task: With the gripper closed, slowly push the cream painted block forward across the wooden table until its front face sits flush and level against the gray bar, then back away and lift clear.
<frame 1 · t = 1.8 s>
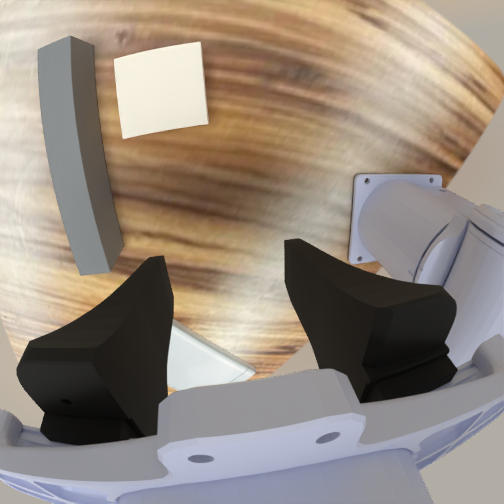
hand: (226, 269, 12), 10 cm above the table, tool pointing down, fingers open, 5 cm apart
cream block: (169, 92, 17), on the table
hard drive: (186, 356, 29), on the table
gray bar: (88, 150, 18), on the table
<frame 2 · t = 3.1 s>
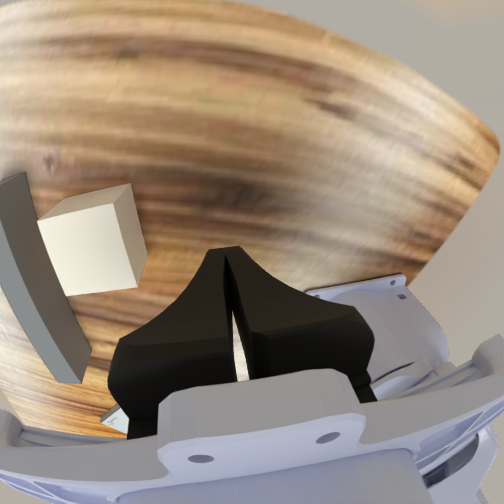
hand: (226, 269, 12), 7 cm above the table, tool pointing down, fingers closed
cream block: (105, 225, 18), on the table
hard drive: (160, 420, 30), on the table
gray bar: (44, 275, 18), on the table
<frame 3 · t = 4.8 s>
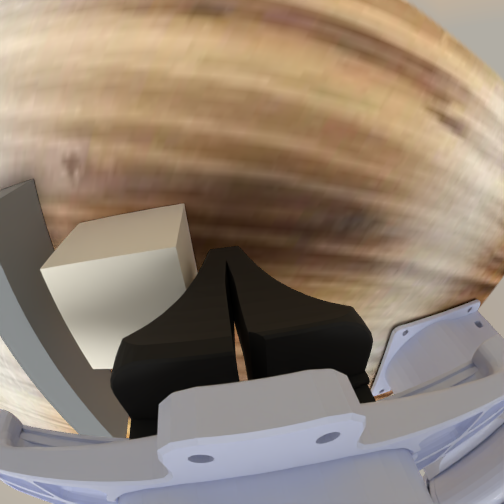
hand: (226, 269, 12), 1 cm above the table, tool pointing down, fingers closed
cream block: (141, 263, 13), on the table, touching gripper
gray bar: (65, 321, 14), on the table
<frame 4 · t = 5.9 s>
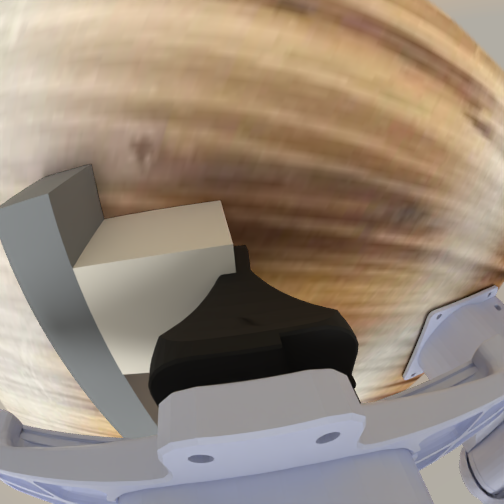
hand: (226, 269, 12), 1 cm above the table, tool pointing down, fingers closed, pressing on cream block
cream block: (170, 262, 13), on the table, touching gray bar, gripper
gray bar: (115, 323, 14), on the table
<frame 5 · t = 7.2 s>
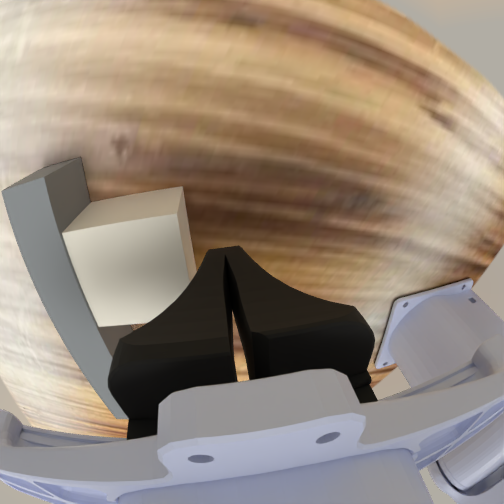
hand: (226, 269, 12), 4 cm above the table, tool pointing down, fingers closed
cream block: (144, 237, 15), on the table
gray bar: (99, 292, 16), on the table
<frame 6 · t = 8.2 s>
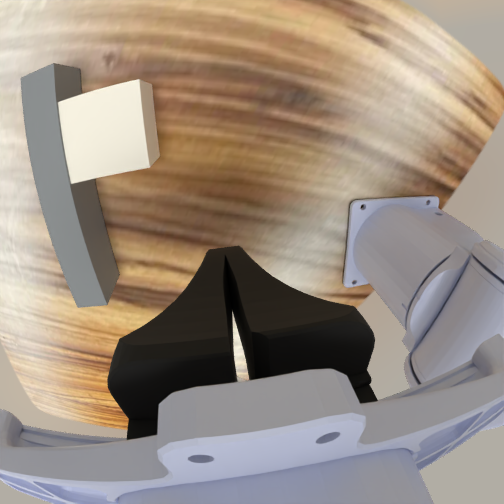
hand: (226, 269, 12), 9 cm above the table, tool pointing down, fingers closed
cream block: (120, 127, 17), on the table
gray bar: (79, 180, 18), on the table
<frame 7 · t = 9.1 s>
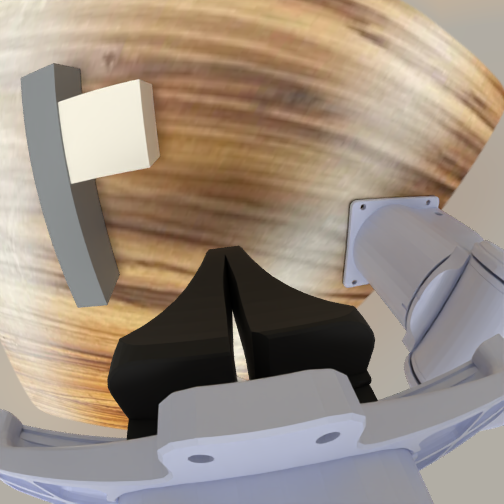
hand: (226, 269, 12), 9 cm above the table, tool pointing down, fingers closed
cream block: (120, 127, 17), on the table
gray bar: (79, 180, 18), on the table
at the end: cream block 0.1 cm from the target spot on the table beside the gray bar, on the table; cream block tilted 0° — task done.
